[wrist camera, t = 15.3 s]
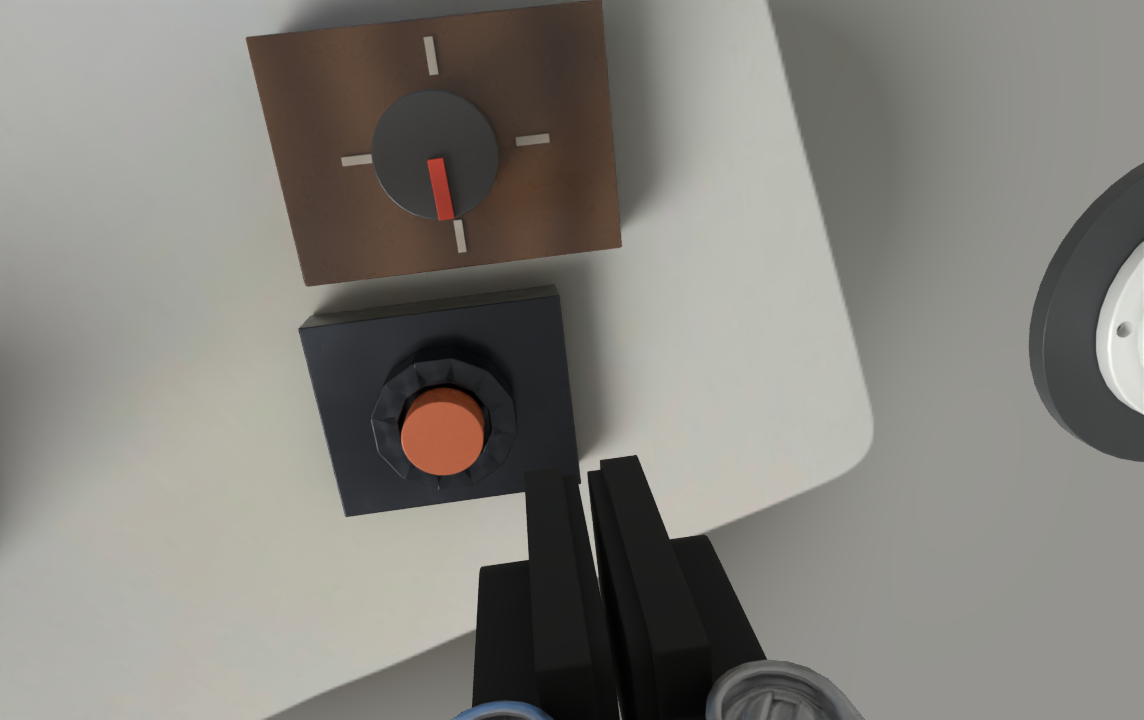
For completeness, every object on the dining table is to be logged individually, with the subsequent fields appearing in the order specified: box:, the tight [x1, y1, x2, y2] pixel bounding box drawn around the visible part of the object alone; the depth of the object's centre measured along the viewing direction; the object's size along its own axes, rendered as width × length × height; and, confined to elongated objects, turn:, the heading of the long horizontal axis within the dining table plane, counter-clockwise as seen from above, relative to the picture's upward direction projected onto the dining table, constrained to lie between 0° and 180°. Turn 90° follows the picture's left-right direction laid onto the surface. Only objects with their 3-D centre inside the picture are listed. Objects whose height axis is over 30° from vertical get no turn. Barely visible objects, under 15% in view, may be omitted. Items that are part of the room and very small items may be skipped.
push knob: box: [401, 387, 485, 475], centre depth 32 cm, size 4×4×2 cm
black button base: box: [298, 285, 581, 517], centre depth 34 cm, size 12×10×4 cm
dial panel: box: [246, 0, 622, 287], centre depth 31 cm, size 14×10×3 cm
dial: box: [371, 89, 500, 221], centre depth 27 cm, size 4×4×5 cm
